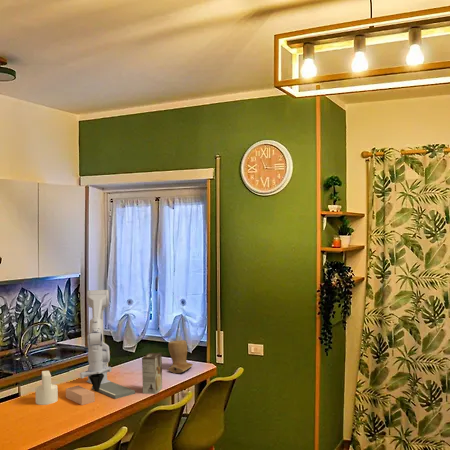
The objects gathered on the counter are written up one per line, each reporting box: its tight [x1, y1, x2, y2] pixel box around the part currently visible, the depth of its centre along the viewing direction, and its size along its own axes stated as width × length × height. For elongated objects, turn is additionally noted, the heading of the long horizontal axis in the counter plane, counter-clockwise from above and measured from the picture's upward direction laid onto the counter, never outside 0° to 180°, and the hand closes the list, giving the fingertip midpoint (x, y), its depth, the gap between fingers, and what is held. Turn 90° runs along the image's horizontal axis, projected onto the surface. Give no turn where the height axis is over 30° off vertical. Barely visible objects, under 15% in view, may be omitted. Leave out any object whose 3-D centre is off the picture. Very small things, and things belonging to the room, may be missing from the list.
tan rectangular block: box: [65, 385, 96, 406], centre depth 235 cm, size 14×6×4 cm, turn 43°
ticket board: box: [91, 381, 136, 400], centre depth 246 cm, size 20×10×2 cm, turn 43°
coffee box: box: [141, 352, 163, 395], centre depth 246 cm, size 9×6×16 cm
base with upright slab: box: [35, 370, 59, 406], centre depth 234 cm, size 9×9×12 cm
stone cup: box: [167, 339, 194, 374], centre depth 280 cm, size 15×12×15 cm
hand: (96, 391), depth 240 cm, fingers closed
